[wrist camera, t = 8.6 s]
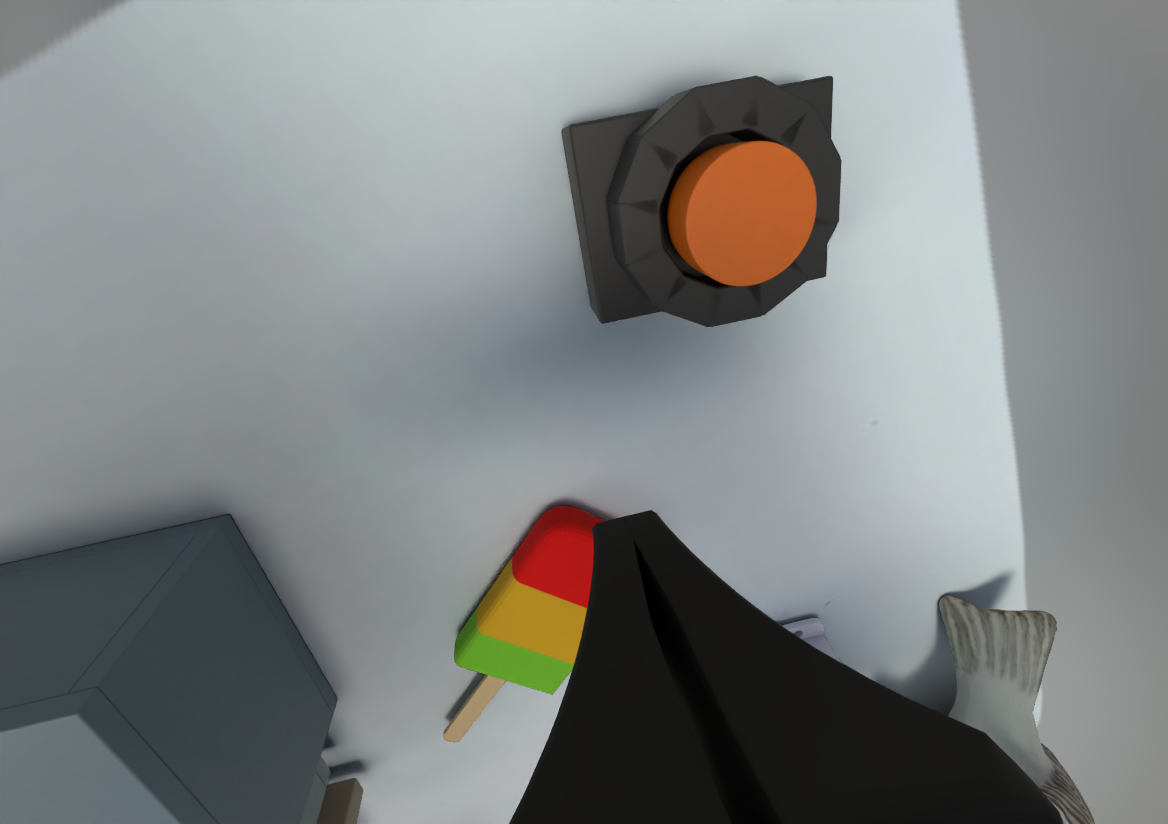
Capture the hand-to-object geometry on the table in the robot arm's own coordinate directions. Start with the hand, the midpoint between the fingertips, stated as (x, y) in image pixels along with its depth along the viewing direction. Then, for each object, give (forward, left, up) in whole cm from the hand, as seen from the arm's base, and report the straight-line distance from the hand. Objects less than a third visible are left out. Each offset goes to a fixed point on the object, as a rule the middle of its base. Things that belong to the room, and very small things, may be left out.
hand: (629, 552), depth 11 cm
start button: (-5, -5, -7) cm, 10 cm away
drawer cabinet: (+20, +9, -10) cm, 24 cm away
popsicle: (+5, +13, -11) cm, 17 cm away
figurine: (-16, +27, -3) cm, 32 cm away
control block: (-5, -5, -10) cm, 13 cm away
